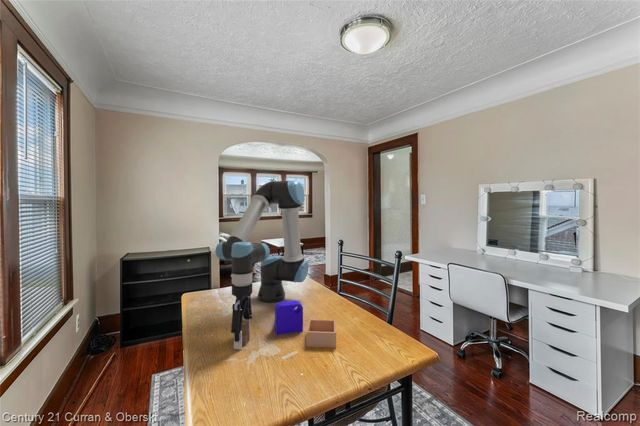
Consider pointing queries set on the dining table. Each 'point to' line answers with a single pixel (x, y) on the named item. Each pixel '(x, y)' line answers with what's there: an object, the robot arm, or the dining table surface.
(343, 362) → the dining table surface
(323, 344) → the planter
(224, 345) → the dining table surface
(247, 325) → the walnut post
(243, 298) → the robot arm
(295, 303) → the bracket
